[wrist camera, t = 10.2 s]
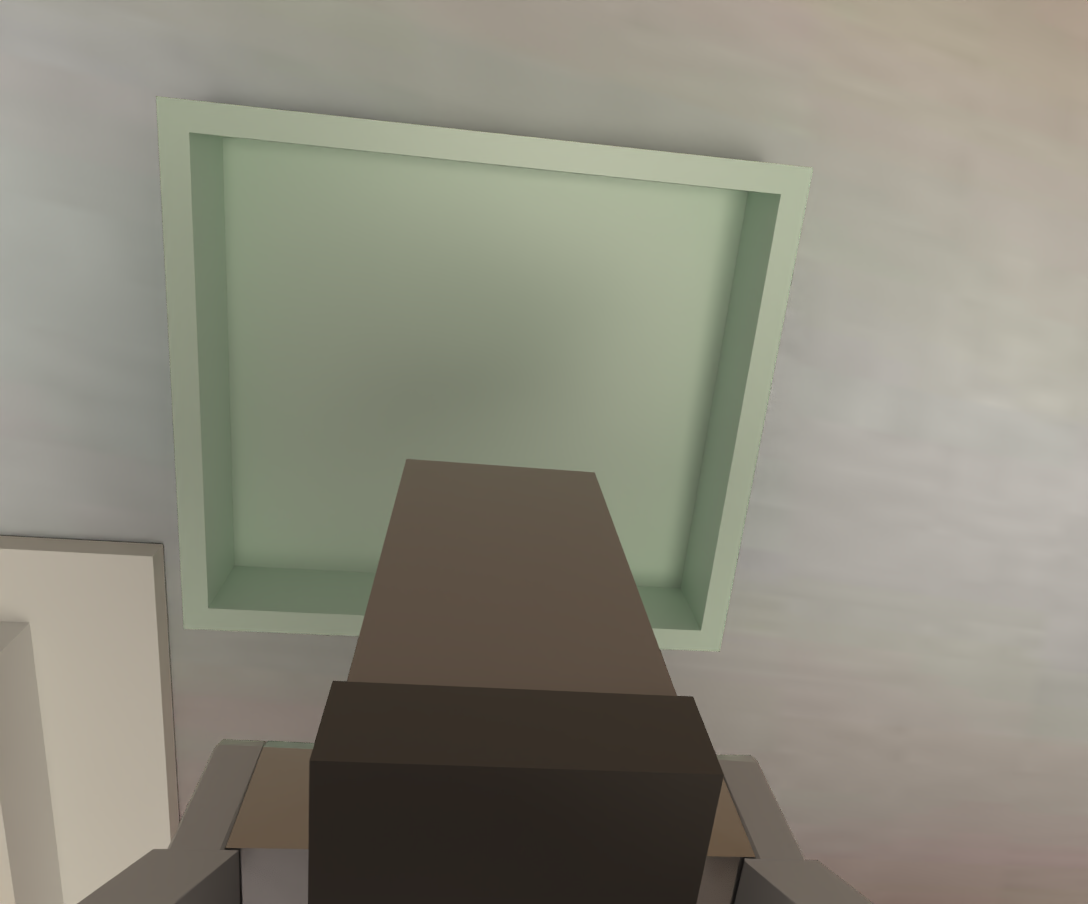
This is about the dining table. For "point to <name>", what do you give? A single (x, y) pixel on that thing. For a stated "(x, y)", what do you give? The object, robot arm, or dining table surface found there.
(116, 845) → the fuse block
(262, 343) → the parts tray
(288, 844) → the robot arm
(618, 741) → the block
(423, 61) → the dining table surface
